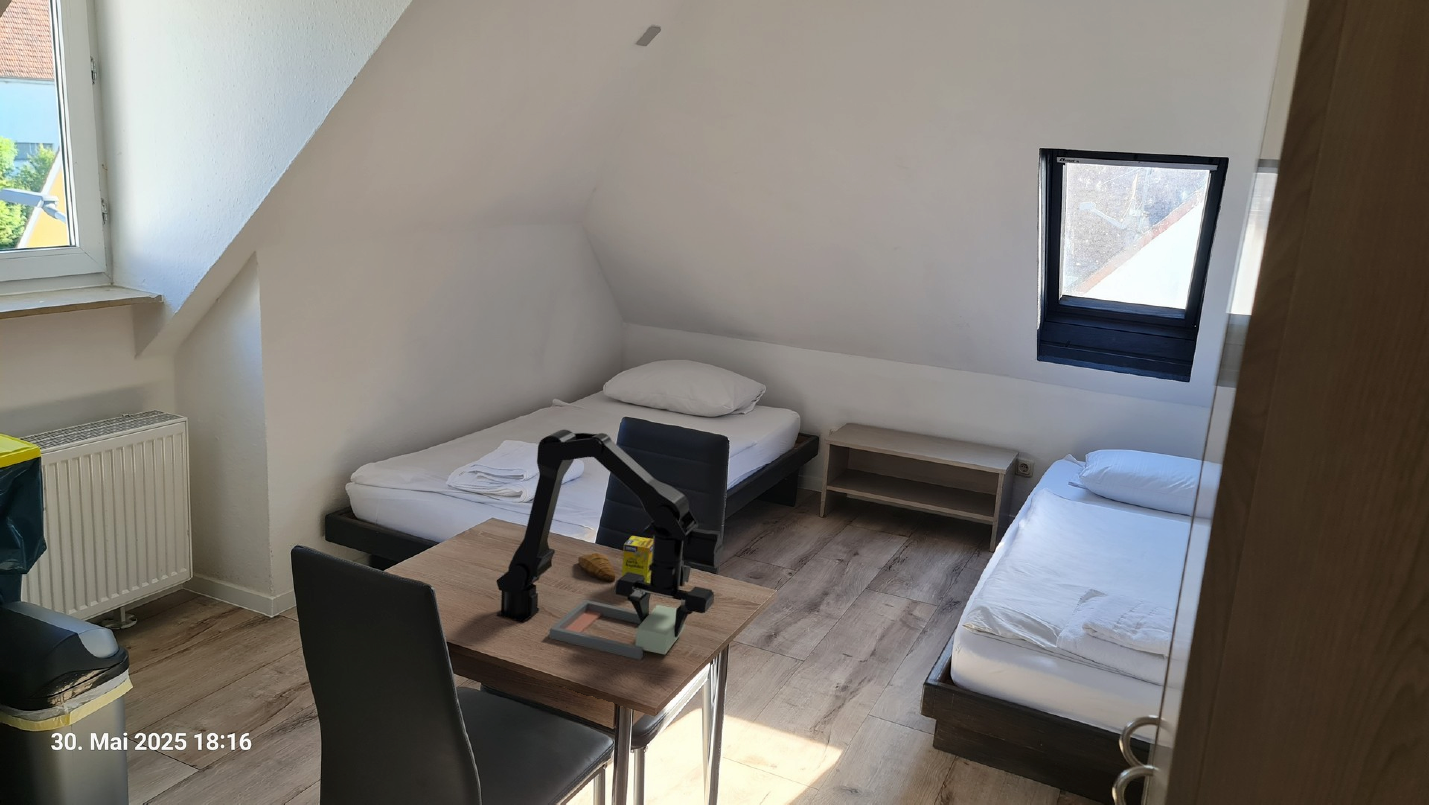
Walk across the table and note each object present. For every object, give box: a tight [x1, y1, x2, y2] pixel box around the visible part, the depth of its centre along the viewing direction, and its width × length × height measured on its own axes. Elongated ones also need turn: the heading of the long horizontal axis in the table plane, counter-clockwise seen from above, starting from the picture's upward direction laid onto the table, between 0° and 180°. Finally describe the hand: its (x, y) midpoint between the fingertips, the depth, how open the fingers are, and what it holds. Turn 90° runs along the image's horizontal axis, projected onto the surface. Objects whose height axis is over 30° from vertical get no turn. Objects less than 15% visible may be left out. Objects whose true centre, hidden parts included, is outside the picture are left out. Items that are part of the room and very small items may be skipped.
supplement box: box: [621, 535, 653, 583], centre depth 218 cm, size 6×6×11 cm
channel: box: [548, 599, 644, 661], centre depth 196 cm, size 19×15×2 cm
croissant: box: [577, 552, 616, 583], centre depth 225 cm, size 14×7×5 cm, turn 40°
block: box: [634, 604, 686, 655], centre depth 192 cm, size 6×12×4 cm, turn 164°
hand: (661, 632), depth 192 cm, fingers closed on block, 6 cm apart
